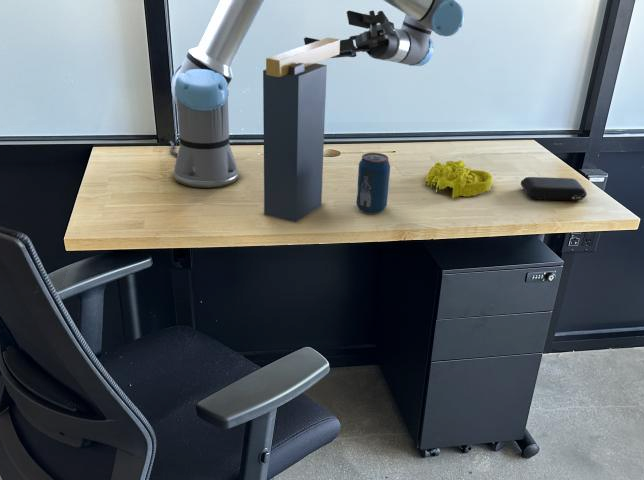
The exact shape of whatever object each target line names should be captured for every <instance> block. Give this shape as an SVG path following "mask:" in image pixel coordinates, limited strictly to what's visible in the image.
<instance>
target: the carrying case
mask: <svg viewBox="0 0 644 480" xmlns="http://www.w3.org/2000/svg"><path fill="white" fill-rule="evenodd" d="M520 186H521V187H522V188H523V190H524V192H525V194H526V195H527V197H529V198H530V199H533V200H545V201H546V200H549V201H550V200H551V201H582V200H583V199H585V198H586V197H587V195H588V192H587V191H586V189H585V188H584V186H582V184H581V182H579V181H578V180H577V179H575V178H573V177H572V178H569V177H544V176H543V177H541V176H527V177H524V178H523V179H522V180H521V181H520Z"/></svg>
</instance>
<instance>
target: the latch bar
mask: <svg viewBox="0 0 644 480" xmlns="http://www.w3.org/2000/svg"><path fill="white" fill-rule="evenodd" d="M318 40H319V41H316V42H313V43H310V44H307V45H305V44H304V45H301V46H298V47H295V48H292V49H289V50H287V51H283V52H281V53H278V54H275V55H272V56H269V57H265V67H266V68H265V69H266V75H270V76H275V77H281V76H284V75H287V74H289V67H290V66H292V65H295V64H298V63H303V64H304V68H305V67H307V66H310V65H313V64H315V63H317V64H319V63H320V62H323V61H327V60H328V59H332V58H331V57H334V56H336V55H339V53H340V40H341V39H340V38H335V37H334V38H333V37H325V38H323V39H318Z"/></svg>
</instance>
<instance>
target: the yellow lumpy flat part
mask: <svg viewBox="0 0 644 480" xmlns="http://www.w3.org/2000/svg"><path fill="white" fill-rule="evenodd" d="M424 183H425V184H424V185H425V186H426V185H427V187H429V186H431V185H433V186H436V188H435V193H437V192H438V189H439V191H440V190H444V189H448V188H447V187H449V188H451V189H452V195H451V198H452V199H454V198H455V199H456V198H458V197H462V196H463V197H471V196H477V195H482V194H484V193H486V192H489V191H490V190H491V189H492V186H493V175H492V174H491V173H490V172H488V171H485V170H478V169H472V168H471V167H466V164H465V160H462V159H460V160H457V161H453V160H448V161H446V162H445V164H444V163H441V162H439V161H437V162H436V163H435V164H434V166H432V167H431V168H430V169H429V171H428V172H427V175H426V178H425V182H424ZM430 189H431V190H432V187H430Z"/></svg>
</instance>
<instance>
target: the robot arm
mask: <svg viewBox="0 0 644 480" xmlns="http://www.w3.org/2000/svg"><path fill="white" fill-rule="evenodd" d="M264 1H265V0H220V1H219V2H218V5H217V7H216V9H215V11H214V13H213V15H212V17H211V20H210V22H209V23H208V26H207V28H206V30H205V32H204V34H203V36H202V38H201V40H200V42H199V44H198V46H197V47H193V48H190V49H189V50H188V52H187V54H186V56H185V58H184V60H183V62H182V64H180V66H179V67H178V68H177V69H176V70H175V71H174V74H173V76H172V79H171V85H170V86H171V95H172V97H173V100H174V103H175V107H176V114H177V125H178V126H177V128H178V140H179V147H178V150H177V152H176V151H174V148H175V143H174V142H173V141H172V140H171V141H169V140H167V139H165V138H161V137H160V139H159V140H160V141H164V140H166V141H167V142H168V143H169V144H170V145H171V146H170V147H169V152H170V154H172V155H174V156H176V159H175V162H174V166H173V167H174V168H173V177H174V179H175V181H176V182H178V184H181V185H183V186H187V187H191V188H197V189H198V188H199V189H200V188H201V189H212V188H214V189H215V188H220V187H221V188H222V187H225V186H229V185H231V184H233V183H235V182H236V181H237V180H238V179H239V169H238V165H237V162H236V159H235V157H234V154H233V151H232V148H231V145H230V123H229V122H230V121H229V94H230V93H229V85H230V83H231V82H232V79H233V77H234V75H233V71H232V65H233V63H234V61H235V59H236V57H237V55H238V53H239V51H240V49H241V47H242V45H243V43H244V41H245V39H246V37H247V35H248V33H249V31H250V29H251V27H252V25H253V24H254V21H255V19H256V17H257V15H258V13H259V11H260V9H261V7H262V5H263V3H264ZM383 1H384V2H386V3H387V4H389V5H390V6H392V7H393V8H395V9H397V10H398V11H400V12H401V13H404V14H405V15H404V19H403V22H402V25H401V28H396V27H395V23H394V22H392V21H390V20H389V18H388V17H387V16H386V14H385V12H384V11H383V10H379V11H377V14H375V10H370V11H369V12H368V14H366V13H362V12H358V11H353V10H347V11H346V16H347V21H348V25H349V26H354V27H358V28H363V29H367V30H366V31H363V32H361V33H359V34H357V35H351V36H349V37H348V38H345V39H340V53H339V55H336V56H334V57H331V58H330V59H339V58H346V57H347V58H356V57H357V53H360V52H361V53H366V54H367V55H368V56H369V57H370V58H371V59H375V60H380V61H386V62H391V63H397V64H402V65H407V66H411V67H413V66H414V67H421V66H424V65H426V64H428V63H429V62H430V61H431V59H432V58H433V54H434V42H433V40H432V39H431V36H432V32H434V33H435V34H437V35H438V36H441V37H452V36H454V35H455V34H457V33H458V32H459V31H460V30H461V28H462V27H463V25H464V21H465V13H464V10H463V9H464V8H463V7H462V6H461V4H460V3H458V2H457V1H456V0H383ZM319 40H320V39H317V38H314V37H313V38H312V37H307V36H305V37H304V38H303V42H304V45H307V44H310V43H313V42H316V41H319ZM354 42H355V44H354Z"/></svg>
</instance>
